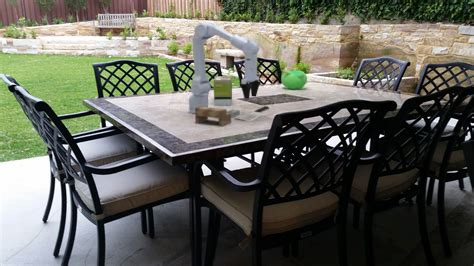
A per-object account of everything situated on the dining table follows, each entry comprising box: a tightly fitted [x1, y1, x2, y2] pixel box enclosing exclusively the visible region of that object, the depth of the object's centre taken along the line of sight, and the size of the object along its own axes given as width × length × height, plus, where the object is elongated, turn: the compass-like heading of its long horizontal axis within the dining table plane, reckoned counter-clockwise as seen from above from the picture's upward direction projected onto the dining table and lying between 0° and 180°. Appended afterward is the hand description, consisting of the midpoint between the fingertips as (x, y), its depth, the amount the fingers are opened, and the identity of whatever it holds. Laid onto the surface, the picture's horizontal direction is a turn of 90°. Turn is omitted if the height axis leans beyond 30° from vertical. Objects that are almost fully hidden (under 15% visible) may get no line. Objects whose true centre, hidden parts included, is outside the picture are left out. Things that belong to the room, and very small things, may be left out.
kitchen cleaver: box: [234, 105, 270, 122], centre depth 196 cm, size 31×2×10 cm
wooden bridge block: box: [194, 106, 232, 127], centre depth 178 cm, size 14×8×7 cm, turn 61°
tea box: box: [213, 75, 233, 107], centre depth 222 cm, size 15×10×15 cm
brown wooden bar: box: [226, 109, 241, 118], centre depth 191 cm, size 4×14×2 cm, turn 152°
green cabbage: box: [280, 67, 308, 90], centre depth 275 cm, size 18×17×15 cm
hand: (250, 97), depth 185 cm, fingers open, 7 cm apart
